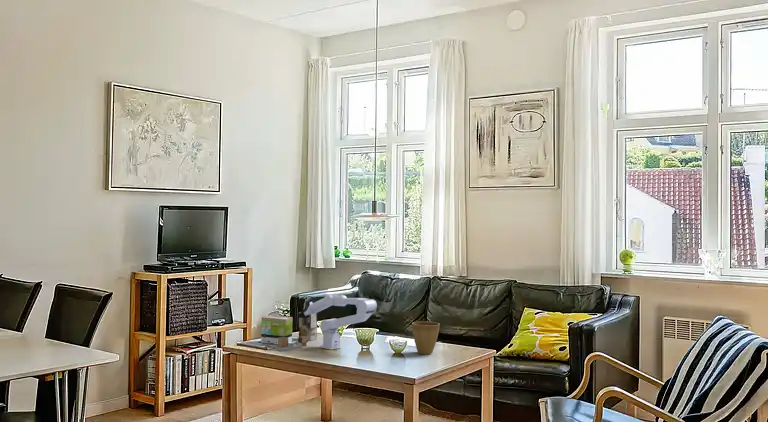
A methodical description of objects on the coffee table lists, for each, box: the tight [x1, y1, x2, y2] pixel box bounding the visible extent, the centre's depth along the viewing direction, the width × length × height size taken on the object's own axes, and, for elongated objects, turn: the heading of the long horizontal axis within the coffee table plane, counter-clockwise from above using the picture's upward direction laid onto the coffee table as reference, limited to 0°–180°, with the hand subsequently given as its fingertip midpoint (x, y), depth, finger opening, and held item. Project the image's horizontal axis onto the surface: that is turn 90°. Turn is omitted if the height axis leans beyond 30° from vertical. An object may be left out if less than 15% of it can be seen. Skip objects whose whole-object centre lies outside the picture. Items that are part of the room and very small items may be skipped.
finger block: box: [297, 336, 308, 348], centre depth 387 cm, size 4×4×5 cm
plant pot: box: [411, 321, 441, 355], centre depth 373 cm, size 15×15×16 cm
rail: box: [274, 337, 303, 352], centre depth 377 cm, size 5×14×6 cm, turn 133°
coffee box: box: [298, 311, 318, 342], centre depth 408 cm, size 9×6×16 cm
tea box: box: [260, 314, 294, 344], centre depth 394 cm, size 15×10×15 cm, turn 73°
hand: (303, 313), depth 396 cm, fingers open, 7 cm apart
